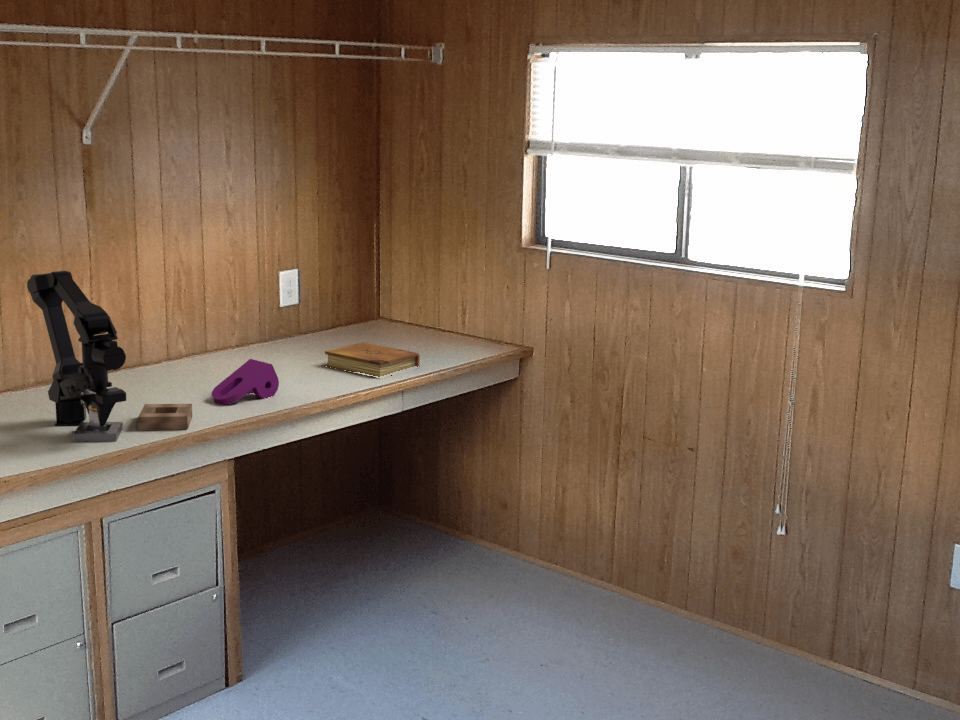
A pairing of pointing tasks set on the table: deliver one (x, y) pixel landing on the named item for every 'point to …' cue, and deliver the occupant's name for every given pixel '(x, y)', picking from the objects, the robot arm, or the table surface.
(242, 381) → the mounting bracket
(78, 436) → the pin mount
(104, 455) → the table surface
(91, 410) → the steel pin
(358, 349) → the diary
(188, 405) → the socket block
